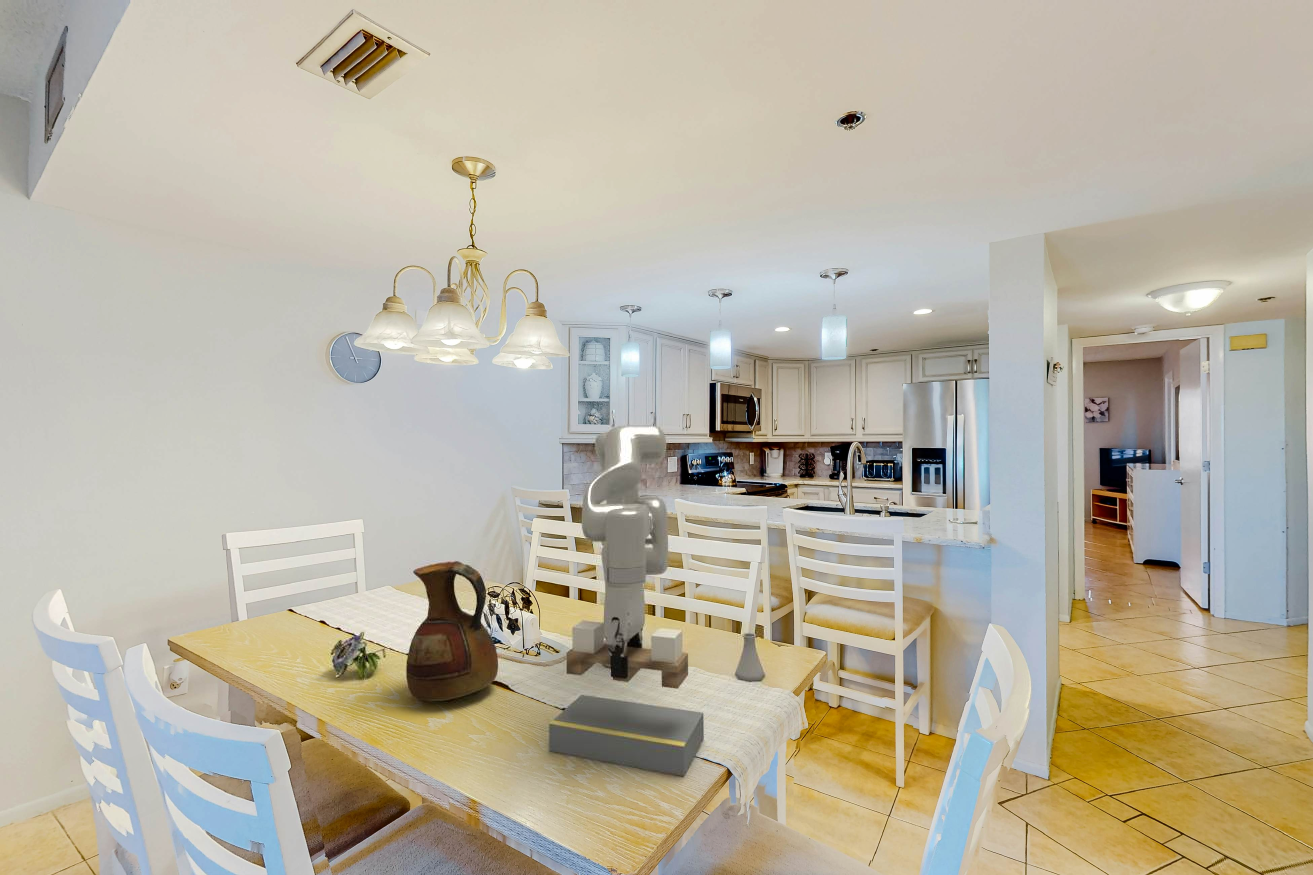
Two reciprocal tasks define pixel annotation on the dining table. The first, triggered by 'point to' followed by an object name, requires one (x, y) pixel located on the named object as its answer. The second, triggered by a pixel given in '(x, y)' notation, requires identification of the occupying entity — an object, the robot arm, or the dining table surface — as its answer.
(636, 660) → the pallet
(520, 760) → the dining table surface
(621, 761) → the block
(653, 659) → the block
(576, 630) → the block
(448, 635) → the ceramic pitcher
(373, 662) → the passion flower
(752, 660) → the flask
